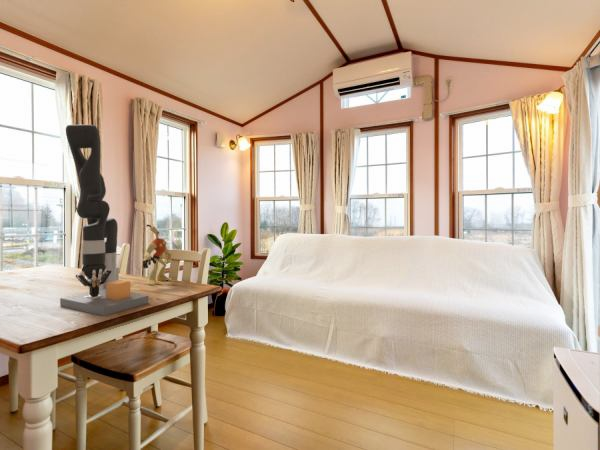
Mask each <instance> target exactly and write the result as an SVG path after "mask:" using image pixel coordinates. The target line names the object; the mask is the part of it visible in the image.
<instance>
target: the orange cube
mask: <svg viewBox="0 0 600 450" xmlns="http://www.w3.org/2000/svg"><path fill="white" fill-rule="evenodd" d="M131 293H132V291H131V280H125V279H124V280H123V279H119V280H117V281H112V282H107V283H106V298H108V299H113V300H118V299H122V298H126V297H130V296H131Z"/></svg>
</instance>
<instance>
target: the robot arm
mask: <svg viewBox="0 0 600 450" xmlns="http://www.w3.org/2000/svg"><path fill="white" fill-rule="evenodd" d="M65 135H66V139H67V143H68V146H69V149H70V152H71V155H72V158H73V163H74V166H75V170H76V171H75V172H76V175H77V178H78V179H77V180H78V183H79V184H78V185H79V189H80V190H79V191H80V194H79V199H78V203H77V207H76V213H77V215H78V216H79V217H80V218H81V219H86V220H87V221H86V222H87V224H86V225H84V226H83V227H82V248H81V249H82V250H81V251H82V252H81V253H82V255H81V257H82V259H81V261H82V268H81V272H80V273H78V274H76V275H75V278H76V279H77V280H78V281H79V282H80V283H81V284H82V285H83V287H88V288H89V292H90V295H91V296H92V297H96V296H98V294H99V290H102V289H106V283H107V282H112V281H117V280H120V275H119V273H120V272H119V271H120V270H119V267H118V266H117V265H118V264H117V247H118V232H119V231H118V227H119V225H118V221H117V220H116V219H115V218H111V217H109V214H110V209H111V208H110V204H109V203H108V202H107V201H105V200H104V198H105V196H106V194H107V193H106V192H107V190H106V184H105V180H104V179H105V178H104V176H103V175H102V173H101V137H100V132H99V130H98V127H97V126H96V125H95V124H67V125H66V126H65ZM81 149H90V154H89V156H88V158H86V157H85V155H84V153H83V152H82V150H81ZM108 217H109V218H108Z"/></svg>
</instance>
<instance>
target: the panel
mask: <svg viewBox="0 0 600 450" xmlns="http://www.w3.org/2000/svg"><path fill="white" fill-rule="evenodd" d="M98 295H100V296H102V297H100V298H95V299H91V298H88V297H89V296H91V295H90V291H88V292H83V293H79V294H75V295H71V296H64V297H61V298H59V306H60V307H63V308H67V309H73V310H76V311H81V312H85V313H89V314H94V315H98V316H103V317H105V316H108V315H112V314H115V313H119V312H121V311H125V310H129V309H133V308H136V307H139V306H143V305H146V304H149V295H147V294H141V293H135V292H131V296H130V297H126V298H122V299H118V300H113V299H108V298H106V289H102V290H99V294H98Z"/></svg>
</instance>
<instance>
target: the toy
mask: <svg viewBox="0 0 600 450" xmlns="http://www.w3.org/2000/svg"><path fill="white" fill-rule="evenodd" d="M145 225H146V227H149V230H150V231H152V232H153V234H155V238H154V239H153V240H152V242H150V243H149V245H148V247H147V248H146V251H145V252H144V255H143V260H142V268H143V269H148V268H149V266H151V265H152V263H153V264H154V267H153V269H152V270H151V272H150V274H149V276H148V278H147V285H148V286H156V285H158V282H171V281H173V279H172V278H170V277H168V276H166V275H165V270H166V267H167V265H168V264H171V262H172V255H173V253H172V252H170V251H169V250H168V248H167V241H165V239H164V238H159V234H160V231H159V230H158V229H157V228H156V226H155V225H151V224H145ZM153 251H155V253H154V254H153V255H152V256H151V254H152V253H153ZM163 254H164V257H165V259H162V258H161V257H160V256H162V255H163ZM158 263H160V264H161V265H162V266H161V268H160V269H159V271H158V268H159V264H158ZM157 271H158V274H157ZM156 274H157V279H156V278H155V277H156ZM162 280H163V281H162ZM166 280H168V281H166Z"/></svg>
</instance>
